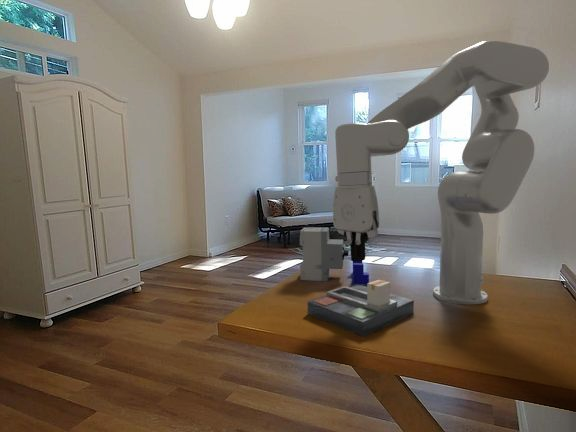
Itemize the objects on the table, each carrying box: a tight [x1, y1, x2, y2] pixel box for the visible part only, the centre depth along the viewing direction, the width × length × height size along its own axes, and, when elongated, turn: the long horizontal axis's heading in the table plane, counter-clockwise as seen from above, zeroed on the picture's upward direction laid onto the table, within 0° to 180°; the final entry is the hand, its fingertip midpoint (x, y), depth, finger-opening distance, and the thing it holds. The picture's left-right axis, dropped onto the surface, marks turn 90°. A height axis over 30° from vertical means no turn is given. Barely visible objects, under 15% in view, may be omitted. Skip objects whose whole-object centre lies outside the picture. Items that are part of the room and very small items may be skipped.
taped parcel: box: [366, 279, 391, 307], centre depth 79 cm, size 4×3×5 cm
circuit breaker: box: [299, 226, 350, 282], centre depth 112 cm, size 8×14×15 cm, turn 78°
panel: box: [307, 284, 415, 337], centre depth 83 cm, size 18×16×4 cm
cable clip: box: [352, 260, 370, 286], centre depth 110 cm, size 12×4×6 cm, turn 170°
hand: (358, 260), depth 84 cm, fingers closed
